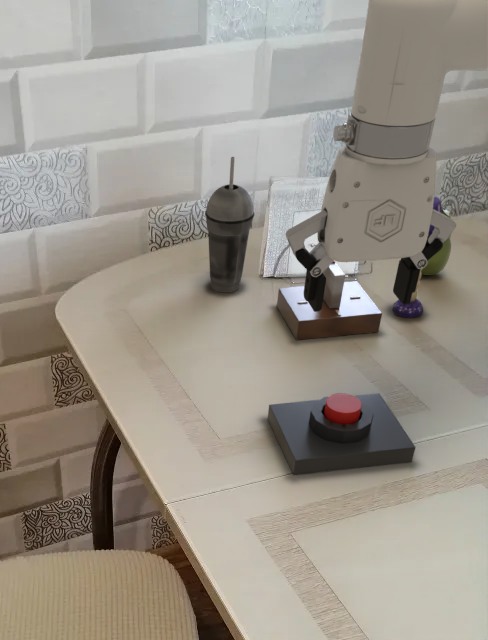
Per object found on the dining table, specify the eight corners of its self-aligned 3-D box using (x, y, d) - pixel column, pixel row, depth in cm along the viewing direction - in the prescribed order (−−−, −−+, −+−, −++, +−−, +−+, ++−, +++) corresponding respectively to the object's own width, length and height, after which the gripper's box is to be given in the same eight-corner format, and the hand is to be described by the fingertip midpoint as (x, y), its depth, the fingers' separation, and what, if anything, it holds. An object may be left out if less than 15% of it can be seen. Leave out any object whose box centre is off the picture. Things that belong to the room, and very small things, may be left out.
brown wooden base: (353, 299, 121) (357, 279, 118) (378, 332, 113) (382, 312, 111) (276, 306, 120) (278, 287, 118) (296, 340, 112) (298, 320, 110)
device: (376, 407, 100) (382, 380, 97) (412, 462, 91) (419, 434, 89) (267, 418, 99) (270, 392, 96) (293, 475, 90) (297, 447, 88)
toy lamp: (412, 322, 115) (439, 208, 104) (382, 312, 117) (406, 200, 106) (427, 309, 117) (455, 197, 106) (398, 300, 120) (422, 189, 109)
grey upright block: (339, 307, 113) (345, 273, 109) (329, 308, 112) (335, 274, 109) (328, 291, 116) (333, 257, 113) (318, 292, 116) (323, 258, 113)
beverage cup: (249, 276, 127) (260, 146, 114) (247, 297, 122) (258, 164, 109) (204, 274, 128) (209, 145, 115) (199, 295, 123) (204, 162, 110)
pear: (443, 266, 127) (459, 205, 121) (445, 282, 124) (462, 219, 117) (407, 264, 128) (420, 203, 122) (408, 279, 125) (422, 216, 118)
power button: (352, 403, 94) (354, 391, 93) (364, 423, 91) (366, 411, 90) (319, 407, 94) (321, 394, 93) (330, 427, 91) (332, 414, 90)
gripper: (310, 155, 71) (288, 325, 82) (496, 142, 72) (449, 312, 83) (287, 129, 77) (269, 292, 88) (460, 117, 78) (421, 280, 89)
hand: (357, 302), depth 86 cm, fingers open, 9 cm apart
